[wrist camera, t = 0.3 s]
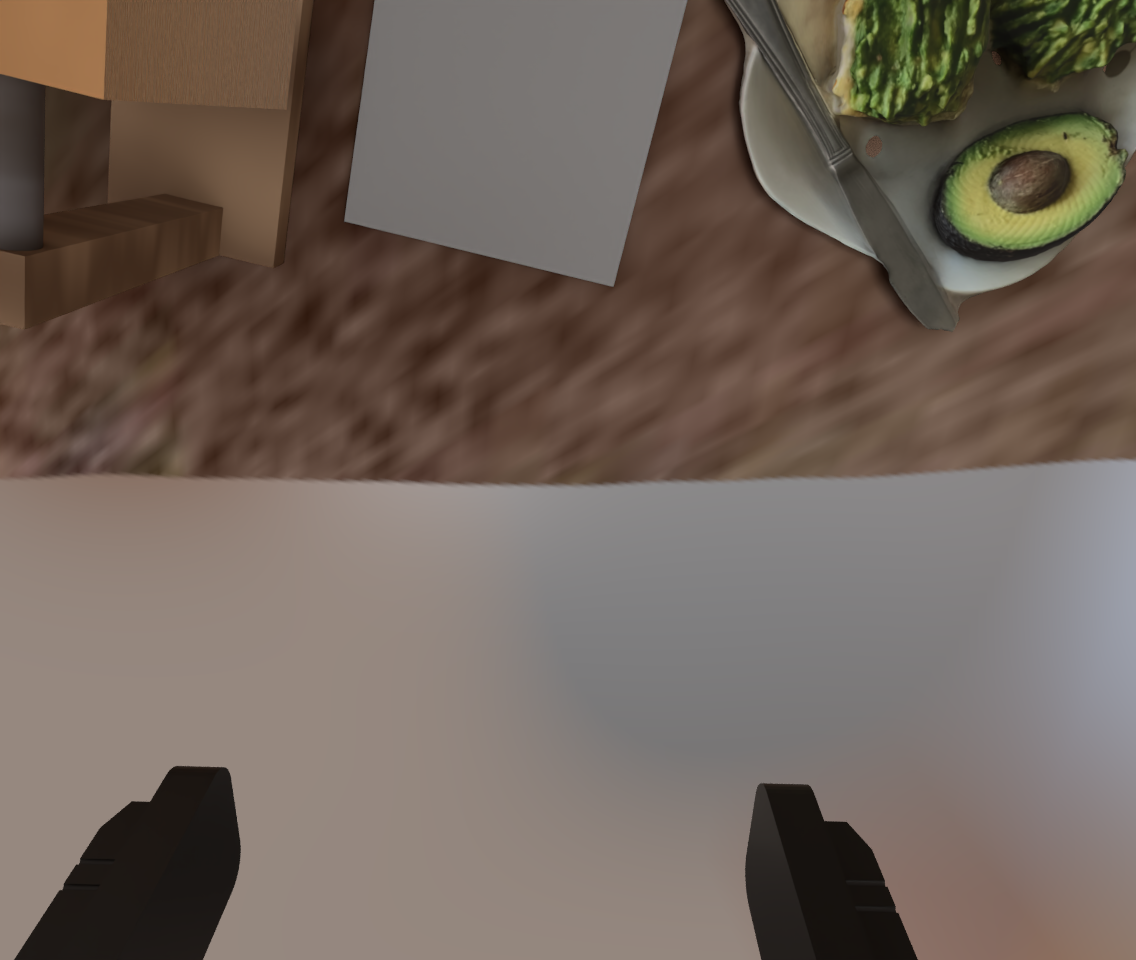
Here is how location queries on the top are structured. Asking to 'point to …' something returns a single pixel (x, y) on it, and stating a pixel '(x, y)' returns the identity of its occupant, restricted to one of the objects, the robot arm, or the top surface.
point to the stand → (145, 195)
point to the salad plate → (941, 130)
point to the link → (154, 49)
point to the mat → (511, 125)
